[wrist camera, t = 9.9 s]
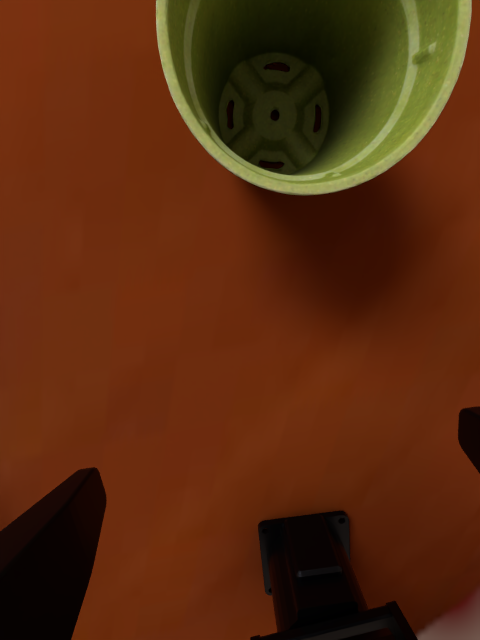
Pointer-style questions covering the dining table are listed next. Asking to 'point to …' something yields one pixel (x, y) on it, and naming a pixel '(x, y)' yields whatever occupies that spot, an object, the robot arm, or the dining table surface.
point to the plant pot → (311, 82)
